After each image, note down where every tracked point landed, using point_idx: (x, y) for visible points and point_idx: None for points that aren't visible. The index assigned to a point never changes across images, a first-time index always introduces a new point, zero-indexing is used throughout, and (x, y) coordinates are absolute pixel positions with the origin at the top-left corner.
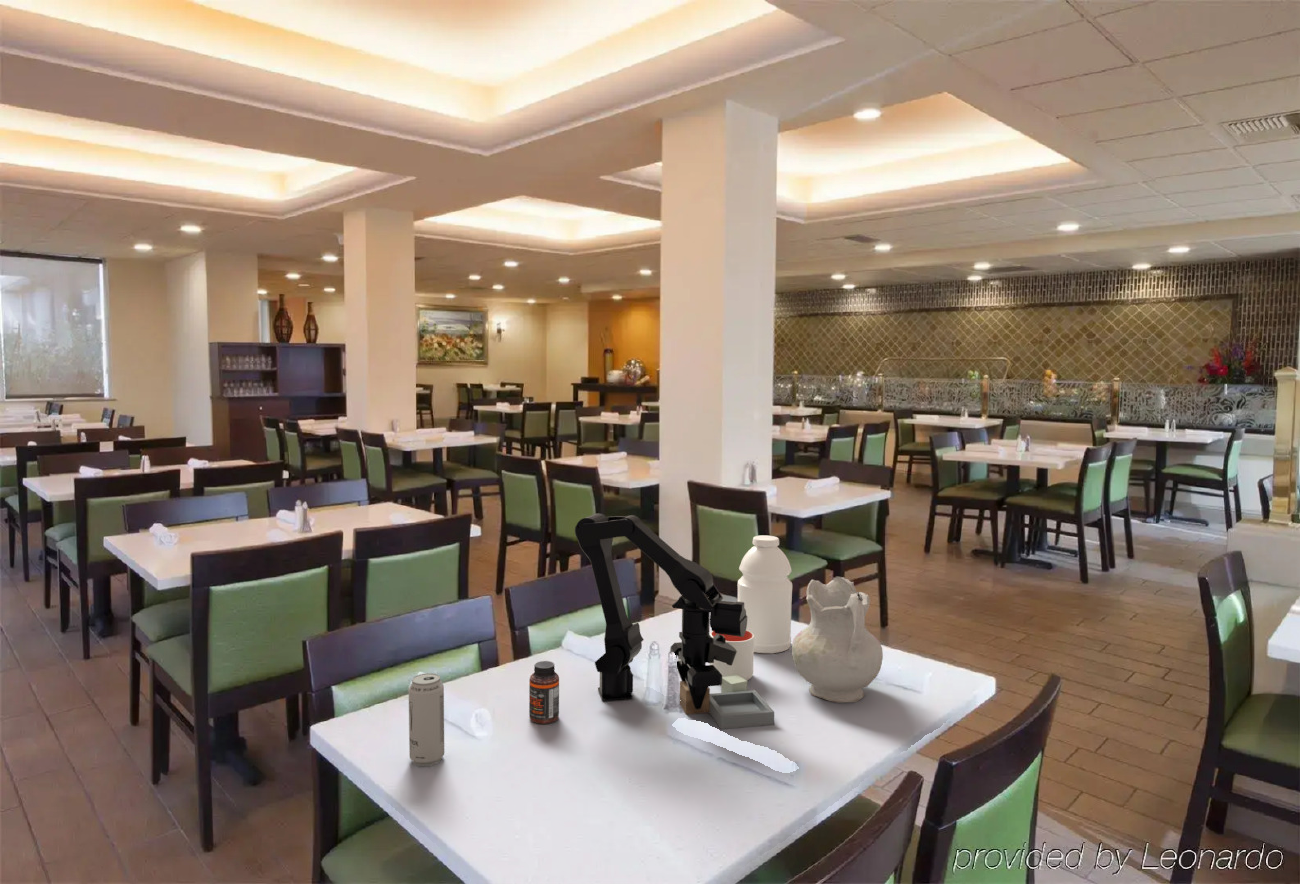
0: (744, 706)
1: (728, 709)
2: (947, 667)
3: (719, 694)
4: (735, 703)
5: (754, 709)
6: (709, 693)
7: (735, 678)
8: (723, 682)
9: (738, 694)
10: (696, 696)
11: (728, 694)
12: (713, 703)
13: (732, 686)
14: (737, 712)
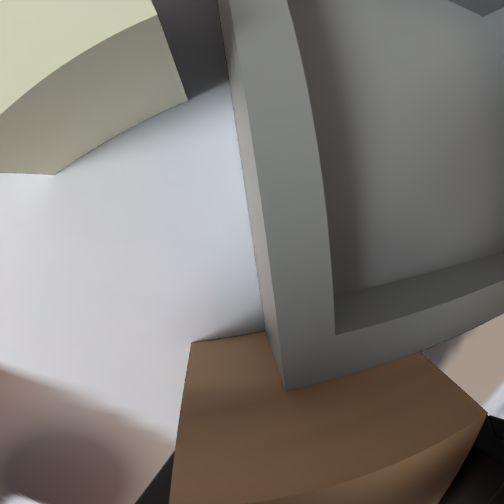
0: (363, 35)
1: (417, 172)
2: None
3: (313, 234)
4: (310, 78)
5: (400, 4)
6: (454, 384)
7: (3, 5)
8: (2, 146)
9: (284, 12)
10: None
11: (310, 115)
12: (478, 317)
13: (159, 24)
14: (454, 124)
